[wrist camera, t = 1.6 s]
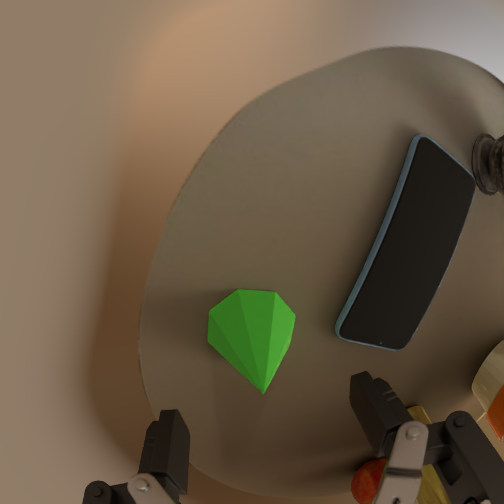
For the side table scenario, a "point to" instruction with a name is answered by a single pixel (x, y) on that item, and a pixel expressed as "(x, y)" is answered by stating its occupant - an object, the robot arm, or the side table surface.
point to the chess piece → (489, 164)
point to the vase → (428, 471)
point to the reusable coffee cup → (492, 389)
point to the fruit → (367, 480)
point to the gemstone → (252, 333)
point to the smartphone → (409, 249)
